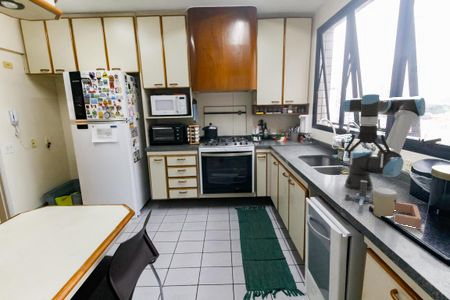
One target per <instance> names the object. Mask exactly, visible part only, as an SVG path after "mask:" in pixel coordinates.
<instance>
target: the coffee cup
mask: <svg viewBox="0 0 450 300" xmlns="http://www.w3.org/2000/svg"><path fill="white" fill-rule="evenodd" d="M372 190H373V191H372V192H373V194H372V195H373V196H372V197H373V198H372V199H373V204H372V205H373V206H372V210H373V211H372V212H373V214H374V215H375V216H376V217H379V218H381V216H383V215H384V216H393V217H394V215H395V211H394V209H395V204H396V202H397V199H398V198H397V197H398V195H399V194H398V192H397V191H396V190H394V189H392V188H388V187H375V188H374V189H372Z"/></svg>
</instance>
